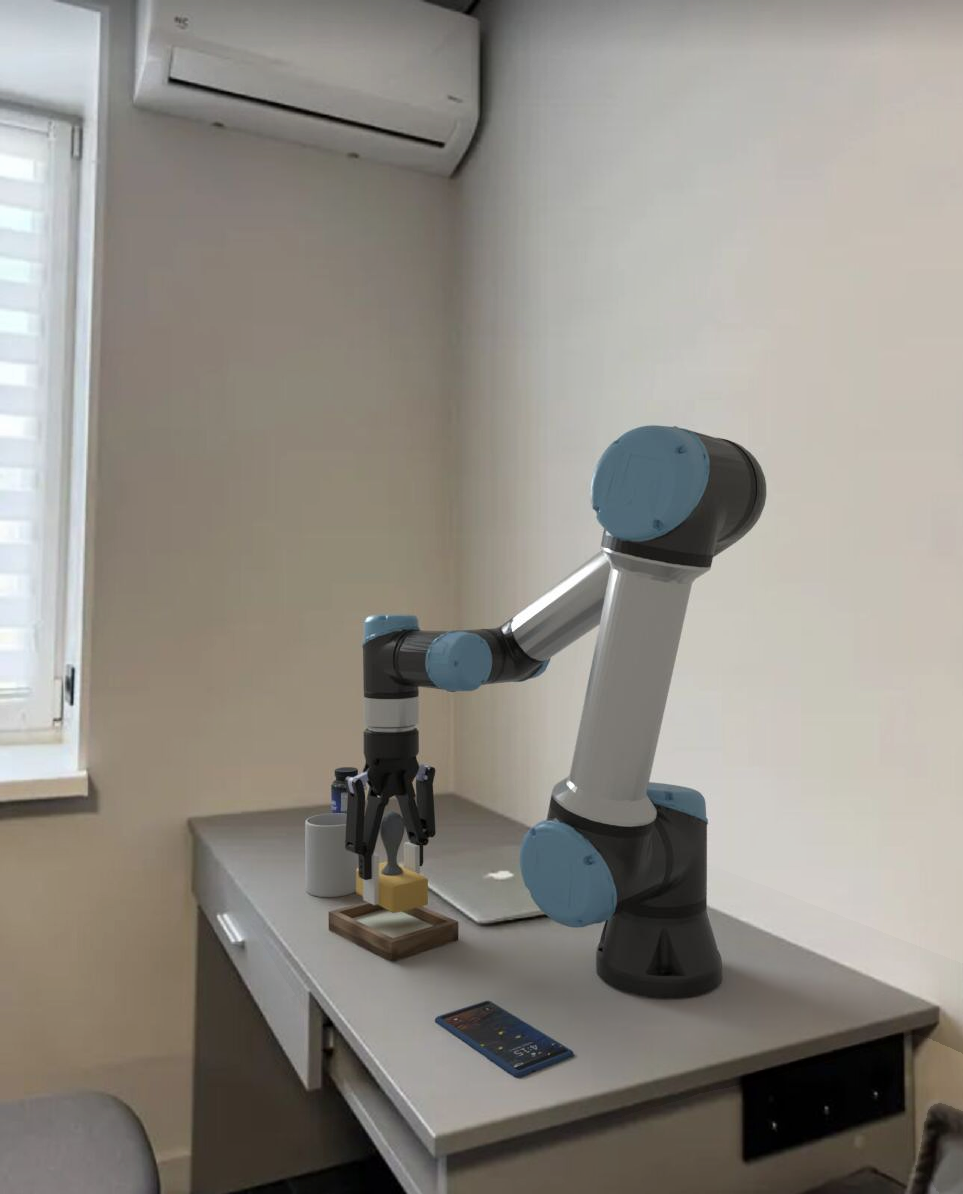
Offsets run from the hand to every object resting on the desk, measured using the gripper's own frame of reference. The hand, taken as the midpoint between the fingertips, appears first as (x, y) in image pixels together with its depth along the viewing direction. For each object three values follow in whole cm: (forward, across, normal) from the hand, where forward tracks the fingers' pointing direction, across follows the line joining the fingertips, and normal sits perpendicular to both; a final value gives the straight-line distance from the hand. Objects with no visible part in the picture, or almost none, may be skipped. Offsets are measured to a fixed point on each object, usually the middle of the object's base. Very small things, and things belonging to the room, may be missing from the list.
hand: (391, 895), depth 126 cm
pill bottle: (+6, -28, -56) cm, 63 cm away
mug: (+6, -5, -24) cm, 25 cm away
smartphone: (+6, +8, +31) cm, 33 cm away
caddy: (+5, 0, 0) cm, 5 cm away
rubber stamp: (+1, 0, 0) cm, 1 cm away
